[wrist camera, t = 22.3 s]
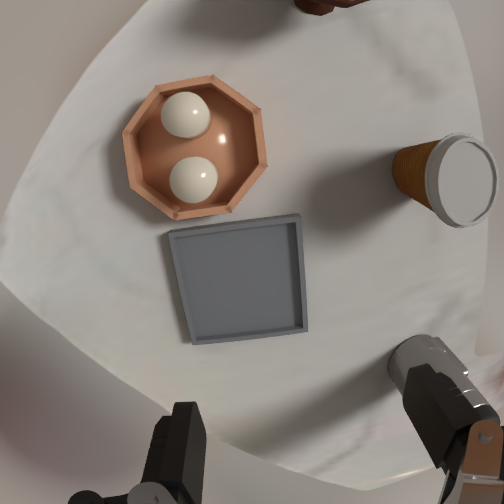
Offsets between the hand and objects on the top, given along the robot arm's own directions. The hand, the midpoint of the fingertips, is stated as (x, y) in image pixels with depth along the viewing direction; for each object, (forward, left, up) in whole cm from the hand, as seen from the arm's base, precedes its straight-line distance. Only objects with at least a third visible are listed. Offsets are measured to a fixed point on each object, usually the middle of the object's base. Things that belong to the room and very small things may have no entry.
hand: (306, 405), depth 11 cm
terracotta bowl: (+6, -10, -28) cm, 30 cm away
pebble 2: (+6, -7, -27) cm, 29 cm away
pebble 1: (+6, -13, -27) cm, 31 cm away
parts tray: (+3, +6, -28) cm, 29 cm away
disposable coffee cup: (-20, -5, -28) cm, 35 cm away
